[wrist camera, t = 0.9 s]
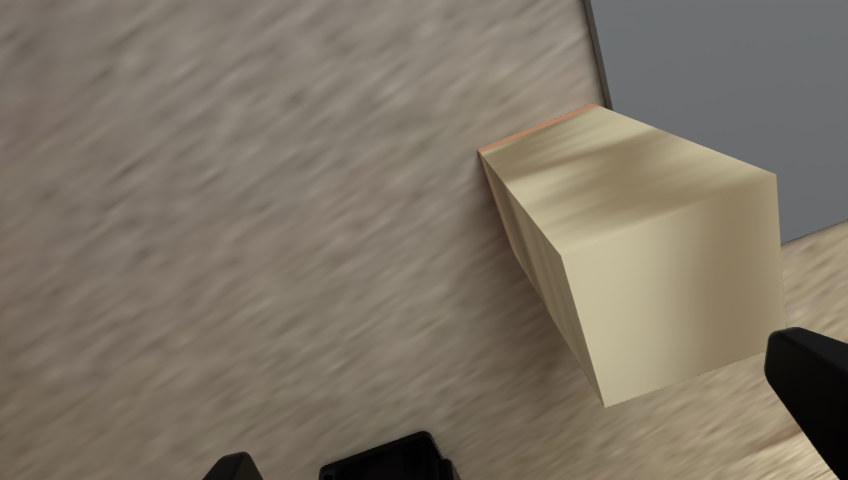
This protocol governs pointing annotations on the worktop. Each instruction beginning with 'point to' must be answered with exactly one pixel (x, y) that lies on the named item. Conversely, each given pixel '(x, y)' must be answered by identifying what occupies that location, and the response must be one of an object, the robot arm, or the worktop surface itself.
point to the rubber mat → (740, 88)
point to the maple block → (641, 247)
